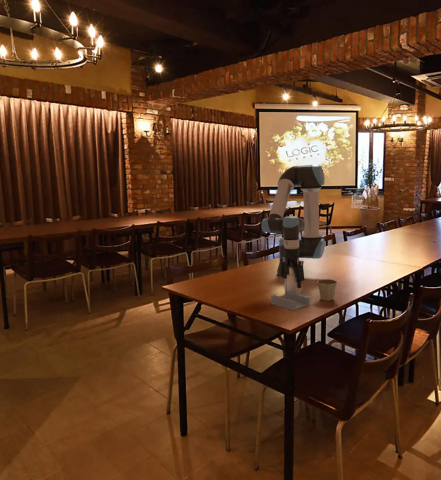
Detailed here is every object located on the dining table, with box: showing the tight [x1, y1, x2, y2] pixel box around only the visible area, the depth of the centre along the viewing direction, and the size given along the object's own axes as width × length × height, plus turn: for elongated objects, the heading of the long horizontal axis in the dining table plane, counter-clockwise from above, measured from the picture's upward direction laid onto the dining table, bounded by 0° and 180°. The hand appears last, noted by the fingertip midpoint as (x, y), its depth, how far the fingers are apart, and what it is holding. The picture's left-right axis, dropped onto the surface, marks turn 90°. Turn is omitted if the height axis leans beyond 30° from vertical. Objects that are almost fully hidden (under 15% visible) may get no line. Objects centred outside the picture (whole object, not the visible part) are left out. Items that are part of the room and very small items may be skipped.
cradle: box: [270, 290, 311, 311], centre depth 183 cm, size 14×11×4 cm
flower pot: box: [316, 278, 338, 302], centre depth 188 cm, size 9×9×9 cm
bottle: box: [287, 266, 296, 293], centre depth 197 cm, size 5×5×15 cm
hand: (292, 292), depth 198 cm, fingers open, 7 cm apart
